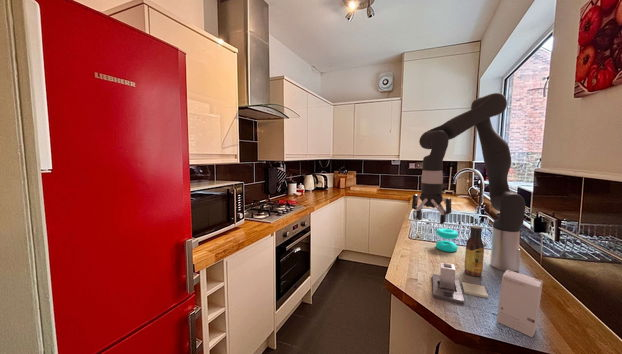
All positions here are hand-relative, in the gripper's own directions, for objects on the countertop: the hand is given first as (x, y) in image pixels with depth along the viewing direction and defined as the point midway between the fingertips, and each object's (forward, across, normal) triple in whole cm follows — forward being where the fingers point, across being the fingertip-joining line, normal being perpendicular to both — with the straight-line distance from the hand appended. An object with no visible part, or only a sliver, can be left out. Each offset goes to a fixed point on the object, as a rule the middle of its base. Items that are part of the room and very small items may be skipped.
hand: (430, 221), depth 96 cm
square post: (+23, -9, +6) cm, 25 cm away
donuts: (+23, +4, -36) cm, 42 cm away
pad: (+23, -16, 0) cm, 28 cm away
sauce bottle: (+23, -12, -15) cm, 30 cm away
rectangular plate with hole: (+23, -9, +6) cm, 25 cm away
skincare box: (+23, -29, +12) cm, 39 cm away
